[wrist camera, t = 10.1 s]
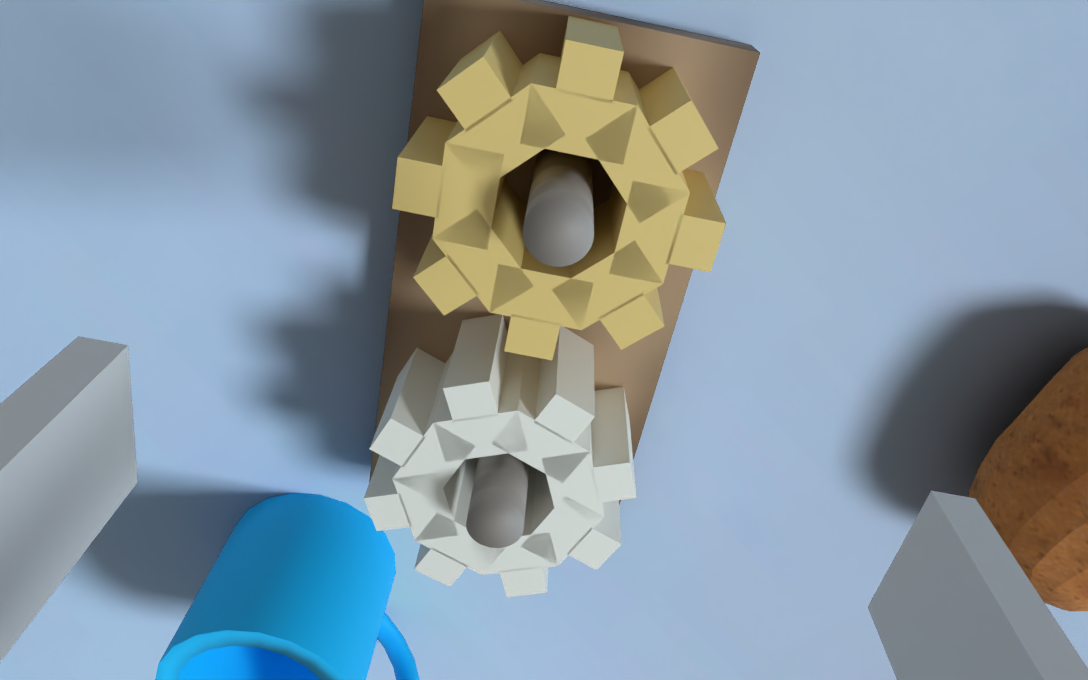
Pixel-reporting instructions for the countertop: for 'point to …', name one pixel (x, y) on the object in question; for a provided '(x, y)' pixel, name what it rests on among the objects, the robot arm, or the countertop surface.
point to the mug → (292, 599)
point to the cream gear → (499, 428)
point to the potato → (1045, 487)
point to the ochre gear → (575, 128)
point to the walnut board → (527, 40)
